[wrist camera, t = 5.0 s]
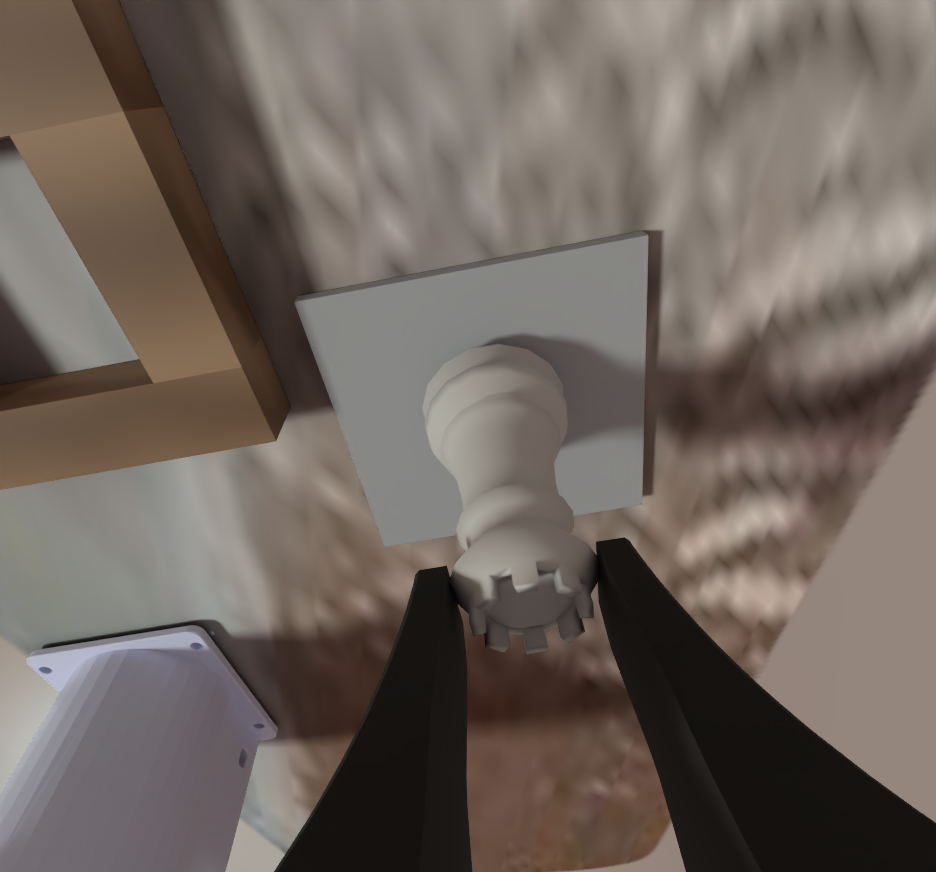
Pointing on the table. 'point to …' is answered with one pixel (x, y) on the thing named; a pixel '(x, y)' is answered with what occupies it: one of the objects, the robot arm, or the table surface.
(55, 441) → the square wooden frame
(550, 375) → the rook chess piece
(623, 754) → the table surface
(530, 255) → the slate mat
